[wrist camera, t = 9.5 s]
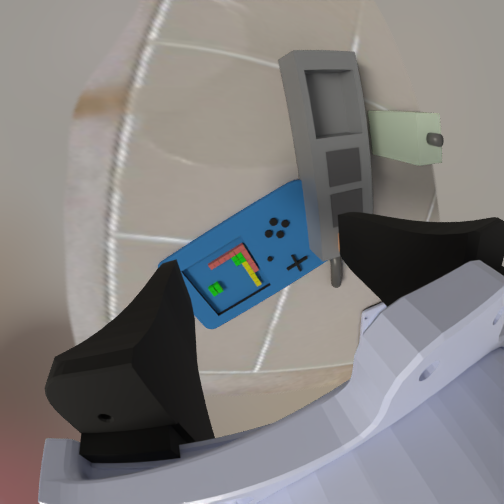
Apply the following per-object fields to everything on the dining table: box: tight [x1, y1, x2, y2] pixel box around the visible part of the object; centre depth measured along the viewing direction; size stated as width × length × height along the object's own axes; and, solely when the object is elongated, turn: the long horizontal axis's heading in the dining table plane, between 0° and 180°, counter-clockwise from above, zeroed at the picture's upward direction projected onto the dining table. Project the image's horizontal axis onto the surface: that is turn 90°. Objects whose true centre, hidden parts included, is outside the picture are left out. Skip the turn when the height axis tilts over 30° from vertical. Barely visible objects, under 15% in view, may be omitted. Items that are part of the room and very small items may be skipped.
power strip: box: [278, 50, 373, 288], centre depth 21 cm, size 21×5×4 cm, turn 11°
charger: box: [368, 111, 443, 166], centre depth 18 cm, size 4×3×7 cm
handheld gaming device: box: [158, 180, 326, 329], centre depth 23 cm, size 8×1×15 cm
